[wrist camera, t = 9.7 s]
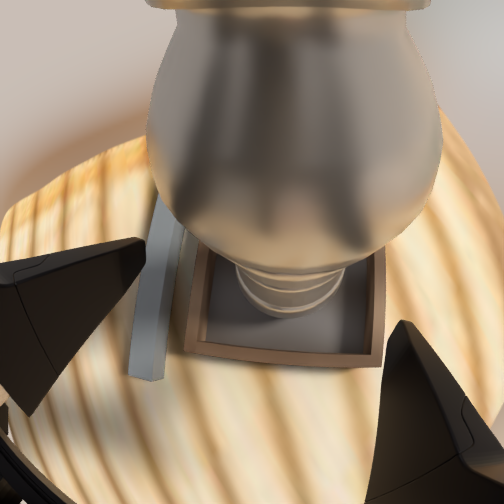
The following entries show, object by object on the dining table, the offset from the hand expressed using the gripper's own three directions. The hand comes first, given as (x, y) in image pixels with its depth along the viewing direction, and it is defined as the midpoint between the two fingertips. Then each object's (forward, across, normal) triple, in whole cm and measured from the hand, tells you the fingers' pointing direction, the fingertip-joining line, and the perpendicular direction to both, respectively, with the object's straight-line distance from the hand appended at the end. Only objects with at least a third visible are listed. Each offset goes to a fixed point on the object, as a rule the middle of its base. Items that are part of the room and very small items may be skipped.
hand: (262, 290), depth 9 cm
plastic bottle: (+10, 0, +5) cm, 11 cm away
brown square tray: (+10, 0, +5) cm, 12 cm away
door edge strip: (+9, +9, +7) cm, 15 cm away
